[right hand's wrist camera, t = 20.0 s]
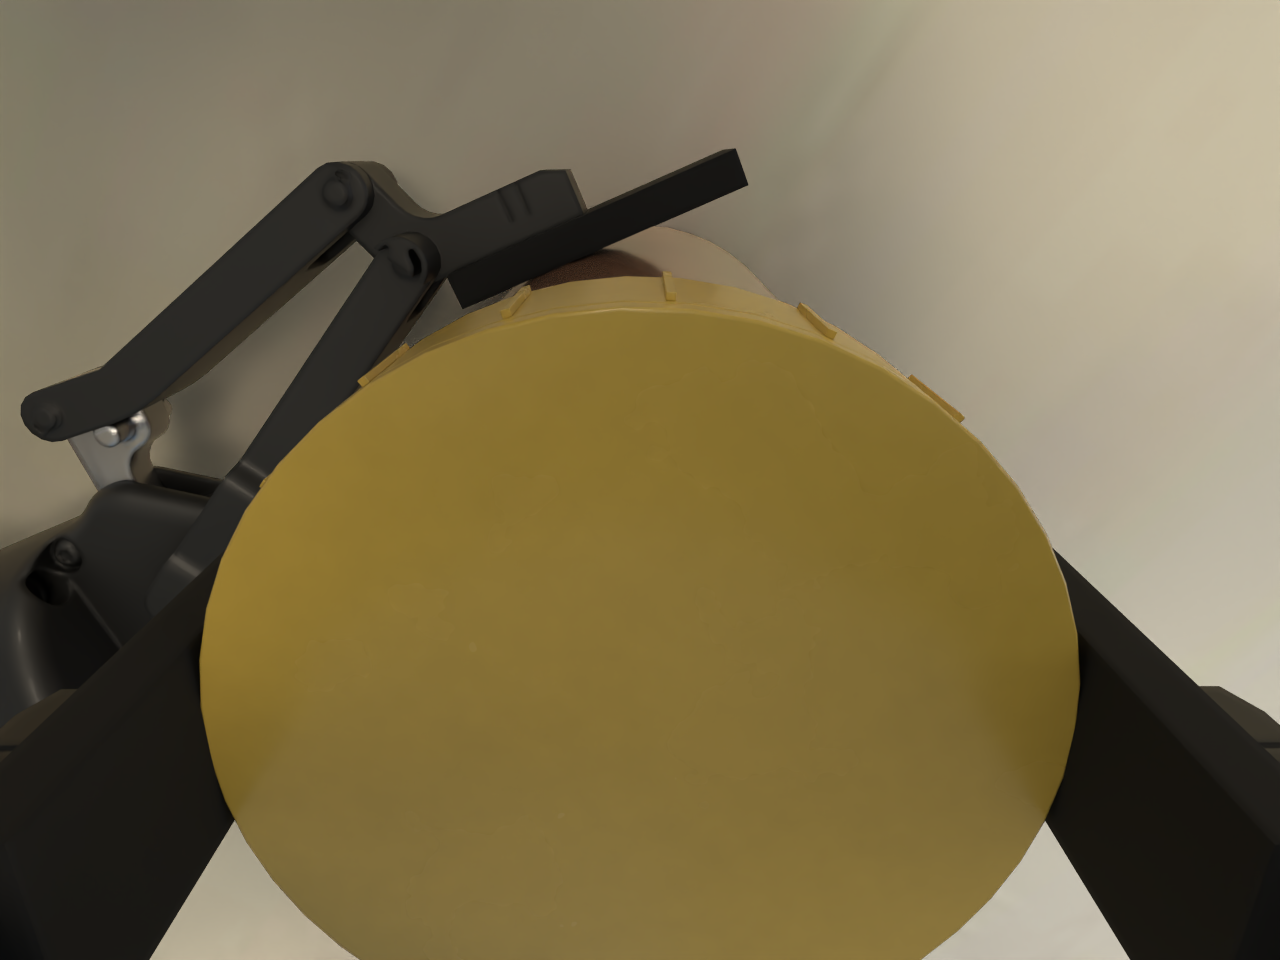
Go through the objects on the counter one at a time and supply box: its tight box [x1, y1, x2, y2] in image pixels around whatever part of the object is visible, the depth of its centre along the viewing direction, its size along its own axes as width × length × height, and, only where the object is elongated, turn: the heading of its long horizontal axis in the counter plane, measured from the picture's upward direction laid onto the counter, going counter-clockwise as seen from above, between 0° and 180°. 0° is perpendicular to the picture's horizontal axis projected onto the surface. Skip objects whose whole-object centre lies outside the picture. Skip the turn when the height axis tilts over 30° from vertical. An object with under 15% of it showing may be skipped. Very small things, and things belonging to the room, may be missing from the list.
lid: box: [199, 271, 1080, 960], centre depth 11 cm, size 11×11×2 cm
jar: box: [500, 226, 779, 301], centre depth 19 cm, size 10×10×17 cm
